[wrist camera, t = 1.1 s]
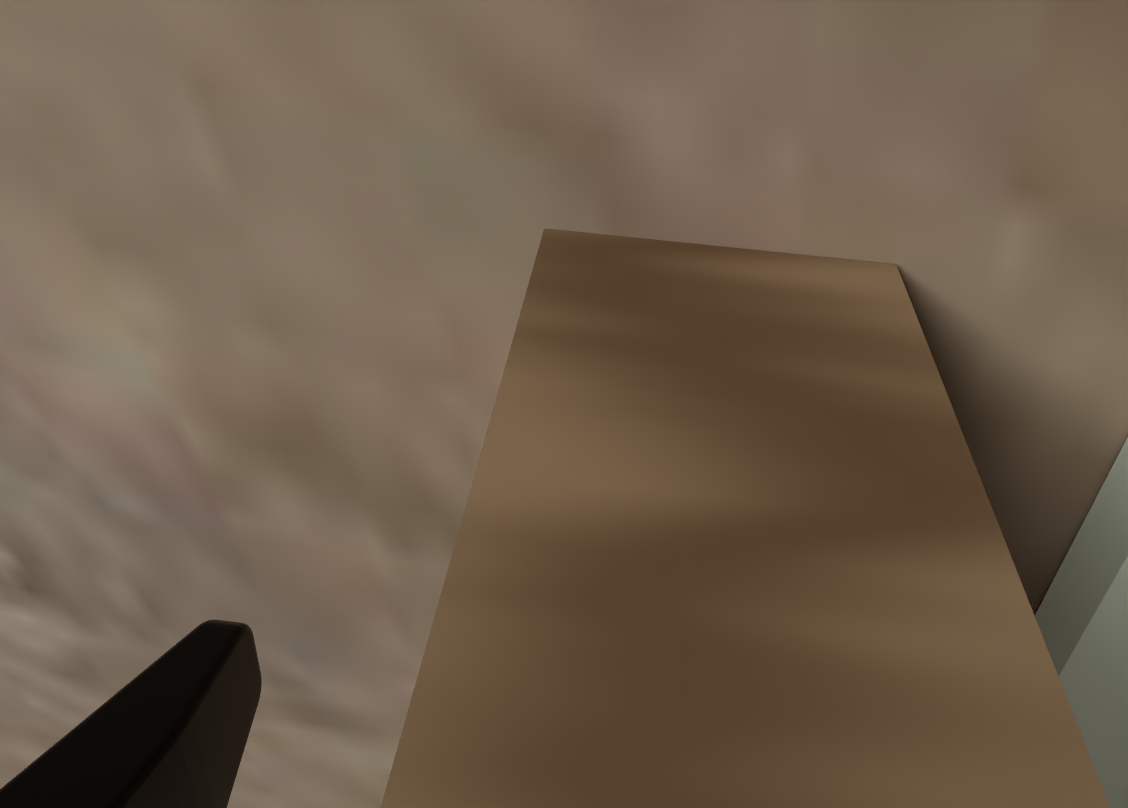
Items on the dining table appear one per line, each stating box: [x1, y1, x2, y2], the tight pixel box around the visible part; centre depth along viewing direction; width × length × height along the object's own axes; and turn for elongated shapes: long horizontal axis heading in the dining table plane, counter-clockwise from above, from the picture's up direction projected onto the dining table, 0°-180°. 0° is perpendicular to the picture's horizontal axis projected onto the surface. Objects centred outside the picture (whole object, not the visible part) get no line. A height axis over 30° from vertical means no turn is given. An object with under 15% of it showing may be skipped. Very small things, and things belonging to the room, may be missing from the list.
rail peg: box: [381, 229, 1110, 808], centre depth 9 cm, size 5×5×10 cm
